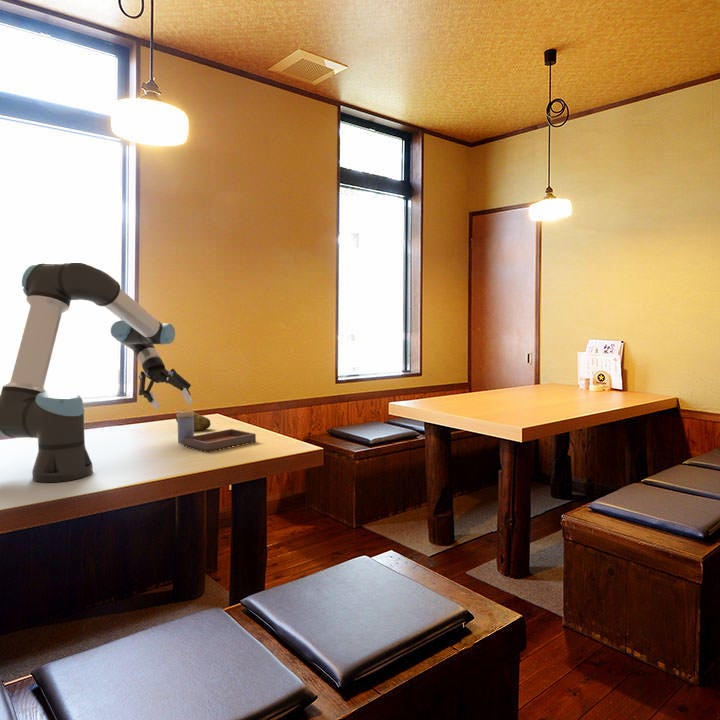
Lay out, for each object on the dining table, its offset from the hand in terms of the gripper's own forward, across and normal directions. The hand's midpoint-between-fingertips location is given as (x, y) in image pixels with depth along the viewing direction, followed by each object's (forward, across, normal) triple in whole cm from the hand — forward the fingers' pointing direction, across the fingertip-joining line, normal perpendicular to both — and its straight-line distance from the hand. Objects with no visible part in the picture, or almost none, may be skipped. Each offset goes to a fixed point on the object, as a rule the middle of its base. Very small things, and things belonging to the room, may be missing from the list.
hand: (174, 405), depth 208 cm
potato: (+2, -13, -15) cm, 20 cm away
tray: (+23, -5, +6) cm, 24 cm away
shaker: (+14, +1, -3) cm, 15 cm away
